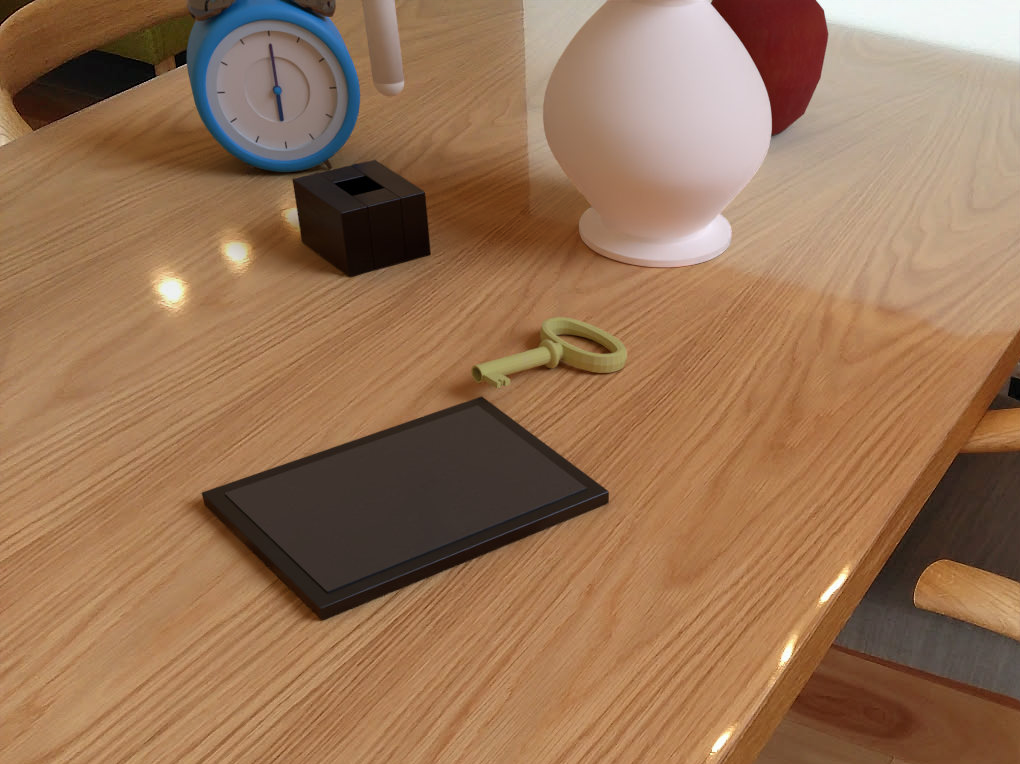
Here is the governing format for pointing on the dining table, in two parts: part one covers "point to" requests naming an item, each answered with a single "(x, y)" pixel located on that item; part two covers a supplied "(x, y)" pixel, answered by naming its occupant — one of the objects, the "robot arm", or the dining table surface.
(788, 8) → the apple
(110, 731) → the dining table surface
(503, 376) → the key
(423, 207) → the holder
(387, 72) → the stylus
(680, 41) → the decorative vase
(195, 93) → the alarm clock
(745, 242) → the dining table surface
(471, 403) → the tablet
